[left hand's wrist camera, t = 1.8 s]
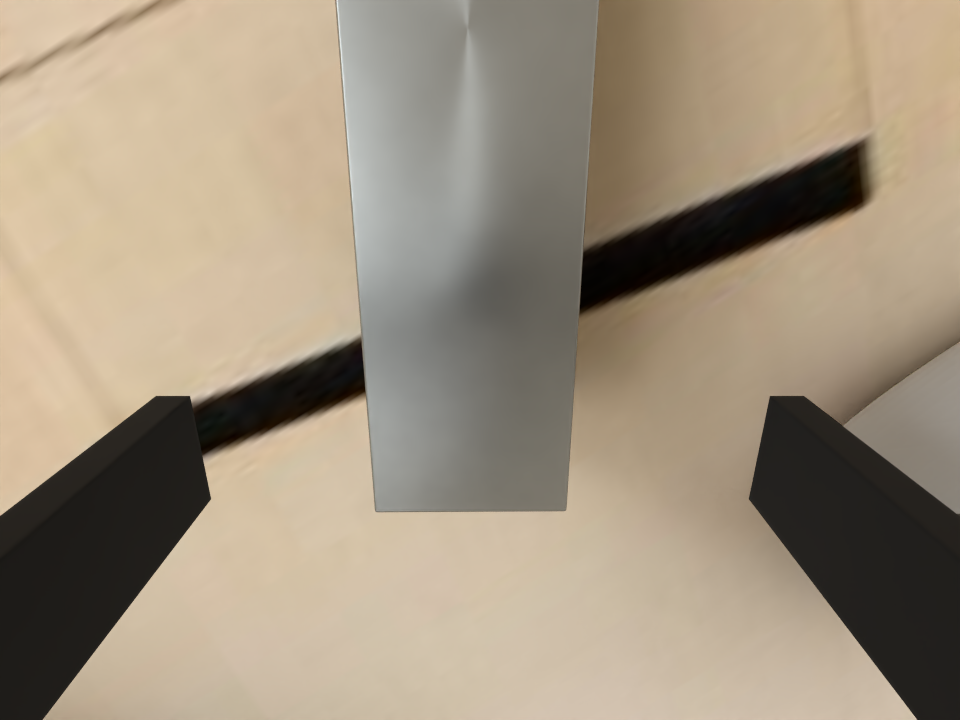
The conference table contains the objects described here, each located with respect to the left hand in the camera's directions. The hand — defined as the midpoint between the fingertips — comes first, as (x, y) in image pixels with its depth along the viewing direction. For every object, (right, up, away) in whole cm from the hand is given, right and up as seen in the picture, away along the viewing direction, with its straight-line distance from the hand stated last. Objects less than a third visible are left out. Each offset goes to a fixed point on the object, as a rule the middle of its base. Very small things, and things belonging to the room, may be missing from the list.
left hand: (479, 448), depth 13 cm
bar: (0, +12, +7) cm, 14 cm away
